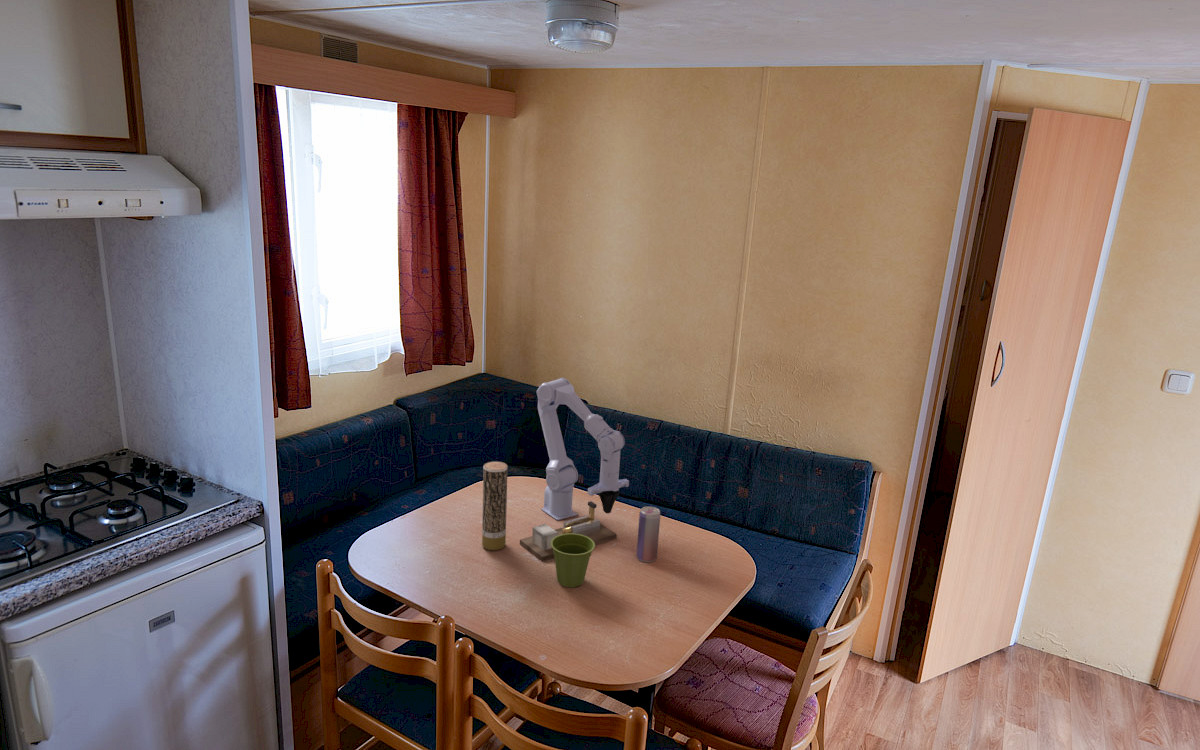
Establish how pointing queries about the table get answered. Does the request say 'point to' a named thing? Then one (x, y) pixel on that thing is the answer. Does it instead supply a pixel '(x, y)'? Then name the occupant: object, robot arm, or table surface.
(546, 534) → the socket block
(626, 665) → the table surface
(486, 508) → the brown tall cylinder
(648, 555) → the beverage can
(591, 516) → the sliding latch bolt
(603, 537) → the base board
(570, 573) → the plant pot
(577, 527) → the sleeve
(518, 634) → the table surface
